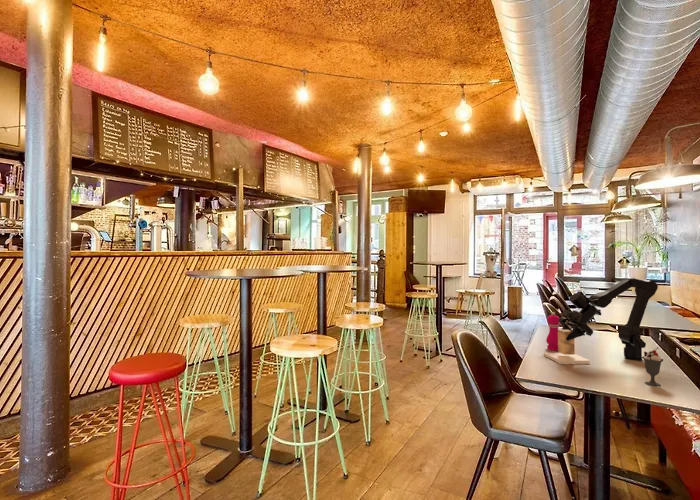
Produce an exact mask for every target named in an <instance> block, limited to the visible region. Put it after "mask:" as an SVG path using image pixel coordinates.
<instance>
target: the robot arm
mask: <svg viewBox="0 0 700 500" xmlns="http://www.w3.org/2000/svg"><path fill="white" fill-rule="evenodd" d="M631 288H634V293H635V296H636V297H635V299H634V303H633V305H632V308H631V311H630V314H629V317H628V320H627V322H626V324H625V325H622V324H621V325H620V326H619V330H618V331H617V333H618V338H619V340H620V341H621V344H622V345H624V347H623V357H624V358H625V359H626V360H634V361H641V362H642V361H643V358H642V357H643V352H642V351H643V350H642V349H644V348H646V346H647V344H646V342H645V341H644V339H642V338H641V337H642V331H641V328H640V327H641V323H642V321H643V318H644V314H645V311H646V309H647V306H648V304H649V303H648V302H649V300H650V299H651V298H652V297H653V296H655V294H656V292H657V290H658V289H659V286H658V284H657V282H656V281H654V280H649V279H638V278H635V277H624V278H623V279H622V280H621V281H619V282H618V283H616V284H614V285H613V286H610V287H609V288H608V289H606V290H605V291H601V292H596V293H595V294H592V295H590V296H588V297H587V296H586V295H585V294H584V292H583V291H580V290H579V291H578V292H575V293H573V294H572V295H570V297H569V298H568V299H569V301H570V303H572V305H573V306H575V307H576V308H577V309H578V310H579V309H580V310H579V311H577V310H575V309H574V310H569V309H564V310H563V312H562V314H561V315H562V317H559V318H560V319H559V320H558V321H559V324H561V325H562V329H568V330H571V333H570V334H569V335H568V336H567V338H566V340H571V339H574V340H575V339H576V338H579V337H583V336H586V335H587V336H589V337H591V336H592V335H593V334H594V330H593V328H591V327H590V326H589V325H588V324H591V323H592V321H591V320H592V319H593V317H595V316H602V310H601V309H602V308H603V309H604V308H606V307H608V306H609V305H610V304H611V303H612V302H613V300H614V298H616V297H618V296H619V295H621V294H623V293H624V292H626V291H628V290H630V289H631ZM599 308H601V309H599Z"/></svg>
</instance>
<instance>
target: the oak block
mask: <svg viewBox="0 0 700 500" xmlns="http://www.w3.org/2000/svg"><path fill="white" fill-rule="evenodd" d="M570 333H571V330H568V329H558V351H557V353H562V354H564V355H573V354H576V353H575V352H576V351H575V350H576V349H575V348H576V347H575V338H574V339H571V340H566V338H567V336H568V335H569V334H570Z"/></svg>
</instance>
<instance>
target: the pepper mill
mask: <svg viewBox="0 0 700 500" xmlns="http://www.w3.org/2000/svg"><path fill="white" fill-rule="evenodd" d="M560 318H561V317H559V316H558V315H556V312H555V311H552V312H551V314H550V315H549V316H547V318H546V319H547V323H548V324H547V326H548V327H549V329H548V330H549V331H548V334H547V337H546V339H545V341H546V343H547V346H546V347H547V350H549V351H551V352H552V351H553V352H554V351H555V352H558V330H559V328H560V322H559V321H558V320H559V319H560Z"/></svg>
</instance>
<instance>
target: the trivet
mask: <svg viewBox="0 0 700 500" xmlns="http://www.w3.org/2000/svg"><path fill="white" fill-rule="evenodd" d="M543 356H544V357H545V358H548V359H550V360H551V361H553V362H556V363H557V364H559V365H590V364H591V360H590V359H588V358H585V357H583V356H581V355H579V354H577V353H575V354H573V355H564V354H562V353H560V352H544V353H543Z"/></svg>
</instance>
